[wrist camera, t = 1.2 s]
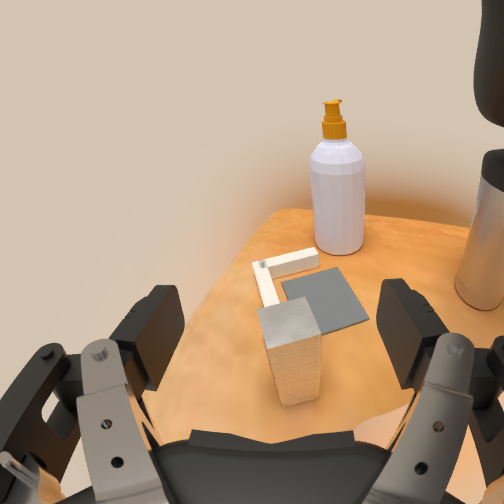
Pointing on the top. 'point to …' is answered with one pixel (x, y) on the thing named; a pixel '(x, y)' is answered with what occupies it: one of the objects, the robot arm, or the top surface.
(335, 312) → the pad
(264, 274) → the corner piece
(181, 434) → the top surface
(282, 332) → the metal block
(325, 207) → the soap bottle
